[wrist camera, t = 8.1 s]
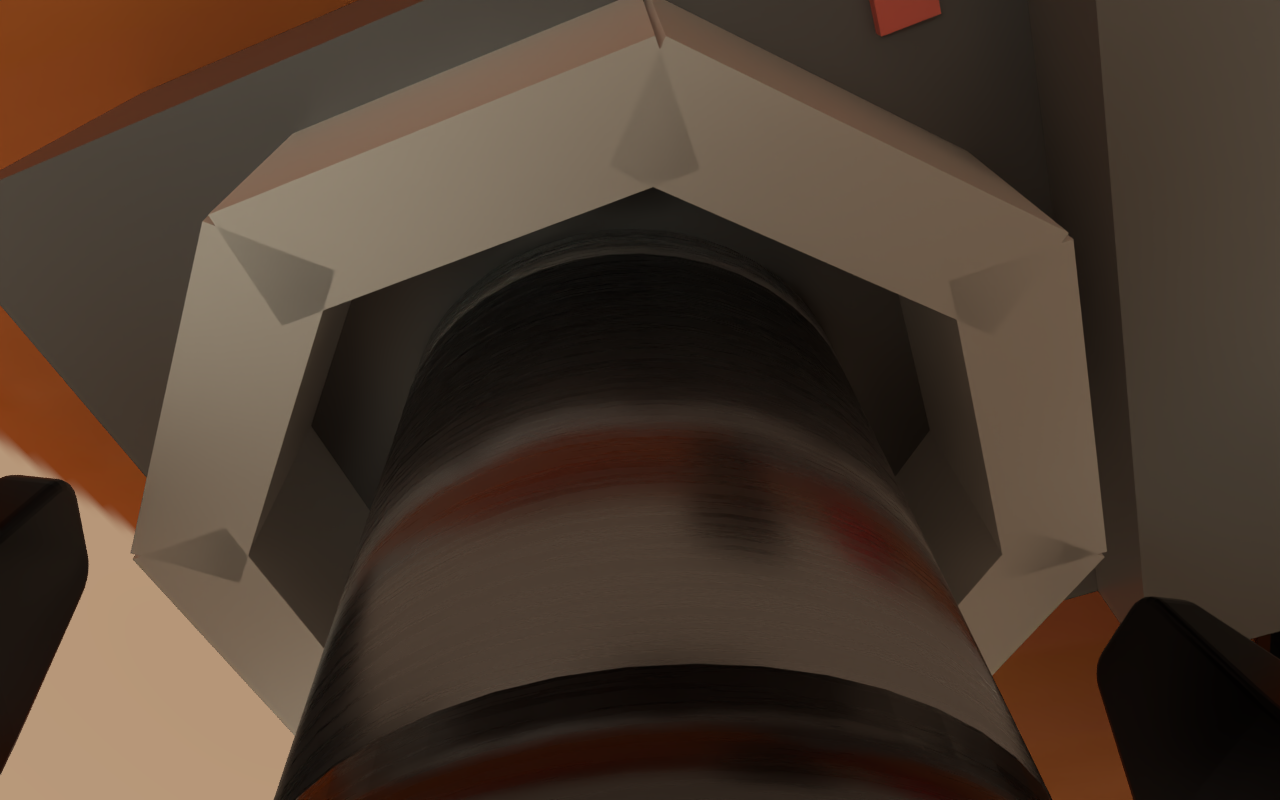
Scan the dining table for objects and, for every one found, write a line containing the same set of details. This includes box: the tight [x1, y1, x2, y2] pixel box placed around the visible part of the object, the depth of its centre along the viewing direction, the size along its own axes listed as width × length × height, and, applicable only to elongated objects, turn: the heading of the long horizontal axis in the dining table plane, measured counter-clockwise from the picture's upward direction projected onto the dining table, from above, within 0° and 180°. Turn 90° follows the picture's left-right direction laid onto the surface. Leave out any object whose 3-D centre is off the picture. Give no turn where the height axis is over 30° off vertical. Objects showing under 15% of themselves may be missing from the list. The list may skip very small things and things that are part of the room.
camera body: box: [0, 0, 1280, 735], centre depth 10 cm, size 9×12×6 cm
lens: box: [274, 229, 1052, 800], centre depth 7 cm, size 5×5×6 cm
